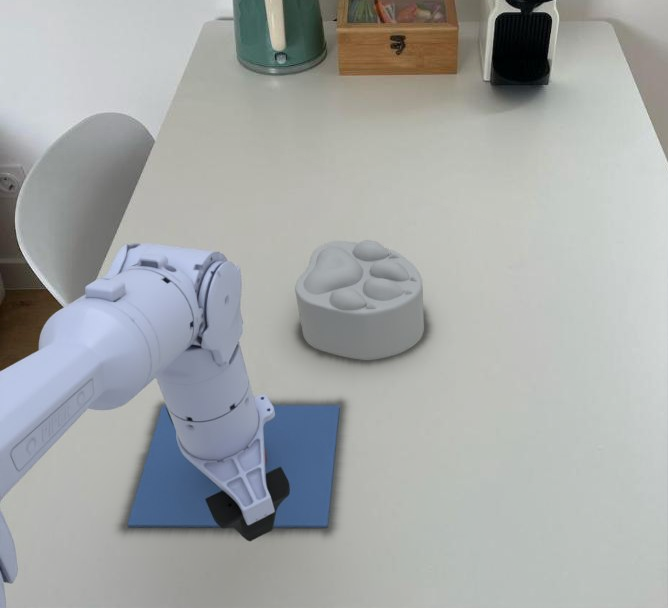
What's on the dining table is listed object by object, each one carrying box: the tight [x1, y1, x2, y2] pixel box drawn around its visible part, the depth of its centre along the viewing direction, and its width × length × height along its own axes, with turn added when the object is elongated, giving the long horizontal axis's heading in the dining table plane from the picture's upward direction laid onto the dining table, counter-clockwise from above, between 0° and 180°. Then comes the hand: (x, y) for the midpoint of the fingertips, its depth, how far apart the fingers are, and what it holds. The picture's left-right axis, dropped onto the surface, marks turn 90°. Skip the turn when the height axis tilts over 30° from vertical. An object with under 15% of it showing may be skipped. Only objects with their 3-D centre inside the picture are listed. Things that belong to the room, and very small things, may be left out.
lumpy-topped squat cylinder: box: [294, 239, 425, 361], centre depth 87 cm, size 10×13×9 cm
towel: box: [126, 404, 341, 529], centre depth 77 cm, size 18×13×1 cm
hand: (241, 493), depth 64 cm, fingers open, 7 cm apart
